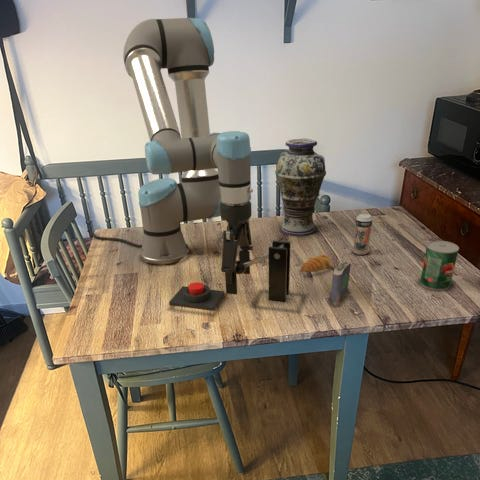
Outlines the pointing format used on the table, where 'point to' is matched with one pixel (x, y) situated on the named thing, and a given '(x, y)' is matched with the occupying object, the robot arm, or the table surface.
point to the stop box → (197, 299)
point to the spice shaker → (362, 234)
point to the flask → (340, 280)
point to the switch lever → (251, 262)
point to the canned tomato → (439, 265)
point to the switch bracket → (279, 271)
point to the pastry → (317, 263)
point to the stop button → (196, 288)
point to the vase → (299, 185)
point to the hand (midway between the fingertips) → (238, 282)
